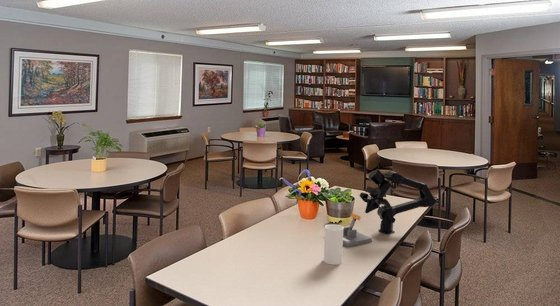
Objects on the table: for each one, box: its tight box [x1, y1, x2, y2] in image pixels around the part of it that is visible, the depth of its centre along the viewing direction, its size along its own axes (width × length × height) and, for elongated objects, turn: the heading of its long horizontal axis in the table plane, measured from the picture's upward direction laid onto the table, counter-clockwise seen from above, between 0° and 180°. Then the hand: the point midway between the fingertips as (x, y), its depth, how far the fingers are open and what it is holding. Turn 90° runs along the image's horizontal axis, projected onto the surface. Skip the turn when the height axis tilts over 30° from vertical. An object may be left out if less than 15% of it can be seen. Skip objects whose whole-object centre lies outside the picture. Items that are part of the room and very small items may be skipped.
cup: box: [323, 223, 344, 266], centre depth 193 cm, size 8×8×16 cm
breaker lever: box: [347, 213, 361, 232], centre depth 224 cm, size 2×5×11 cm, turn 32°
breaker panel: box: [343, 226, 373, 248], centre depth 223 cm, size 16×18×6 cm
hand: (365, 212), depth 228 cm, fingers closed
